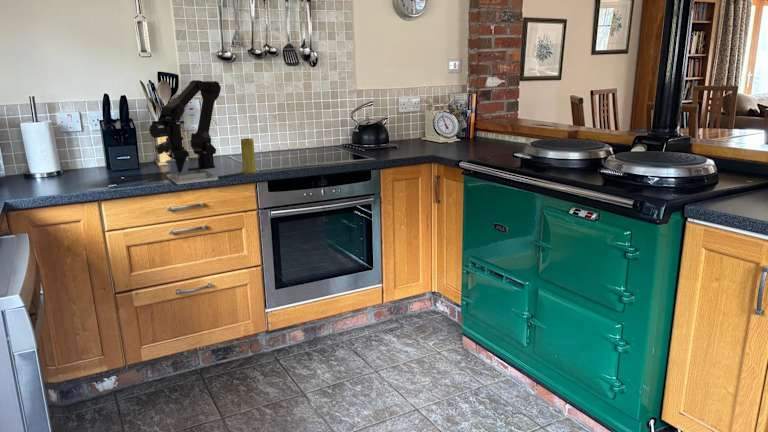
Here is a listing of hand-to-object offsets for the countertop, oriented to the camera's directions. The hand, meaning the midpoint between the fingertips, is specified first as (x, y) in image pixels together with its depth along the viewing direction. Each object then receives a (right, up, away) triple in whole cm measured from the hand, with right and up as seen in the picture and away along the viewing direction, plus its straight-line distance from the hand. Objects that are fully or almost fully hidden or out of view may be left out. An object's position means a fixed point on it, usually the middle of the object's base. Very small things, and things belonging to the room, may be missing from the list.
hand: (178, 171), depth 246 cm
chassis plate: (+9, -4, -10) cm, 14 cm away
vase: (+31, -1, 0) cm, 31 cm away
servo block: (0, -1, 0) cm, 1 cm away
